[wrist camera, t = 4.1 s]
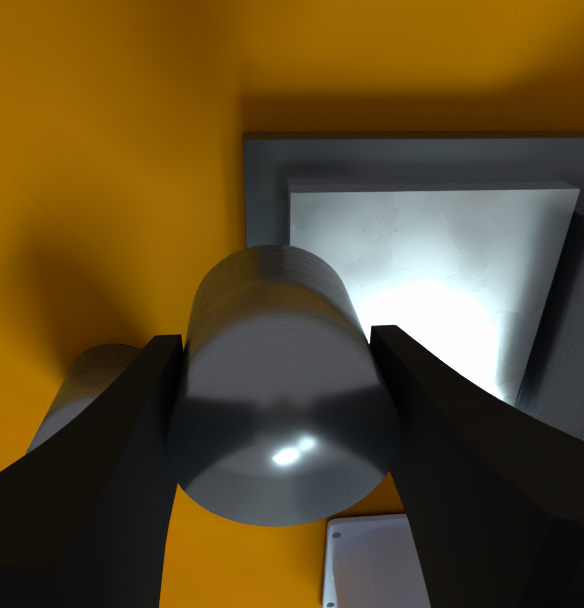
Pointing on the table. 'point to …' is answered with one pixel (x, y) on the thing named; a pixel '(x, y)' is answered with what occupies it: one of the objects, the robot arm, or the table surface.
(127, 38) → the table surface
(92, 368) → the cylinder
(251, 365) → the cylinder
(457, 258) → the dial scale
